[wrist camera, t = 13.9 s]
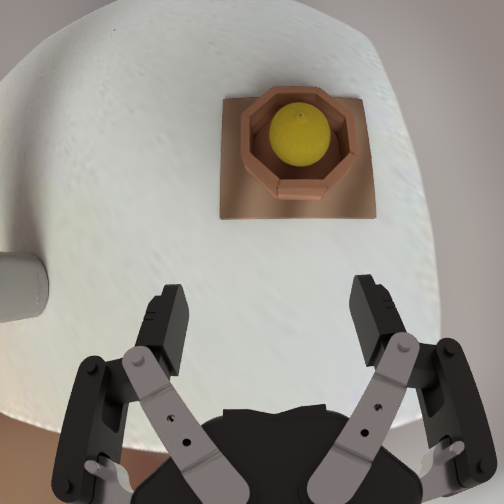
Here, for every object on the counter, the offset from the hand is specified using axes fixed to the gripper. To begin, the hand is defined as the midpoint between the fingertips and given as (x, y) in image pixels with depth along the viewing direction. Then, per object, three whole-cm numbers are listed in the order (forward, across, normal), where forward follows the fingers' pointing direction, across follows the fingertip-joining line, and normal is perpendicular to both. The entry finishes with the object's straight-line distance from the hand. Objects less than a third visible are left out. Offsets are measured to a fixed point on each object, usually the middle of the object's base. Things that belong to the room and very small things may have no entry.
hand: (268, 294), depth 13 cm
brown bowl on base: (+21, -4, 0) cm, 21 cm away
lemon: (+20, -4, -1) cm, 20 cm away
